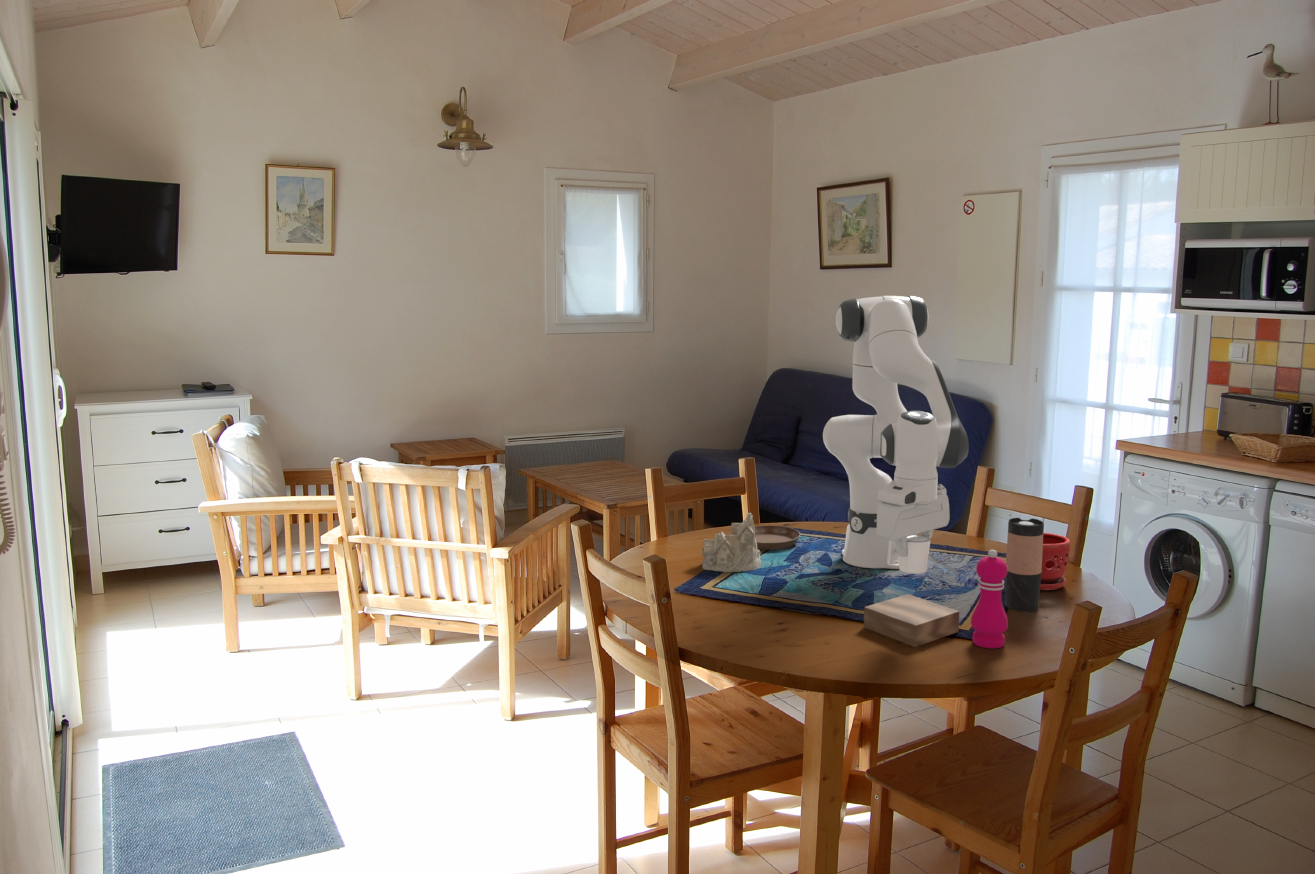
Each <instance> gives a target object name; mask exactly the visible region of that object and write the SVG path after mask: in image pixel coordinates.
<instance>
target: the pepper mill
mask: <svg viewBox="0 0 1315 874" xmlns="http://www.w3.org/2000/svg"><path fill="white" fill-rule="evenodd" d="M987 555H988V556H984V557H982V558H980V559H979V560H978V561H977V564H976V574H977V575H978V576H979V578H978V579H977V580H978V584H977V586H978V587H979V588H980V593H979V599H978V601H977V605H976V607H975V608H974V610H973V612H972V615H971V618H970V624H971V627H972V628H973V630H974V632H973V633H972V643H973V644H974V645H976V646H978V647H981V648H984V649H1000V648H1002V647H1003V648H1004V646H1005V639H1006V637H1005V635H1004V633H1005V632H1006V631H1007V630H1008V627H1009V622H1008V616H1007V613H1006V611H1005V609H1004V606H1003V602H1002V601H1003V600H1002V590H1004V588H1005V577H1006V575H1007V565H1006V561H1004V560H1003V559H1002V558H1000V557H998V552H997V550H996V549H989V550H988V551H987Z"/></svg>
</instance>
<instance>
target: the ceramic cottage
mask: <svg viewBox="0 0 1315 874" xmlns="http://www.w3.org/2000/svg"><path fill="white" fill-rule="evenodd" d="M730 525H731V526H730V534H725V533H724V532H723V531H722V530H721V531H720V532H718V533H714V539H707V538H705V539H703V548H702V550H701V552H702V553H701V554H702V557H703V558H704V560H703V561H702V562H701V566H702V569H703V570H705V571H706V570H707V571H714V572H723V573H738V572H740V573H741V571H743V572H748V571H750V572H751V570H752V571H755V570H758V569H759V568H761V567H762V560H761V558H762V556H761V549H757V542H756V539H755V526H756V525H755V523H754V516H753V514H752V512H747V514H746V518H744V520H743V521H742V522H731V524H730Z"/></svg>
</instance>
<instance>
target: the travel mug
mask: <svg viewBox="0 0 1315 874" xmlns="http://www.w3.org/2000/svg"><path fill="white" fill-rule="evenodd" d="M1044 525H1045V524H1044V521H1042V520H1039V519H1038V518H1029V519H1027V520H1025V519H1021V518H1020V517H1012V518H1009V520H1008V522H1007V540H1006V541H1007V542H1006V555H1005V557H1006V558H1005V563H1006V565H1007V575H1006V577H1005V578H1004V588H1005V589H1004V592H1005V595H1004V596H1005V597H1004V604H1005V607H1006V608H1007V609H1010V610H1012V611H1017V612H1026V613H1027V612H1034V611H1037V610H1038V608H1039V603H1040V592H1041V590H1040V583H1041V572H1042V550H1043V533H1044V529H1045V528H1044V527H1045V526H1044Z"/></svg>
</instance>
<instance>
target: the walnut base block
mask: <svg viewBox="0 0 1315 874" xmlns="http://www.w3.org/2000/svg"><path fill="white" fill-rule="evenodd" d="M863 611H864V612H863V615H864V616H863V628H864V629H867V630H869V631H871V632H872V631H873V632H875V633H877V634H879V635H882V636H886V637H888V638H889V639H893V640H896V641H899V642H900V643H903V644H906V645H909V646H911V647H913V648H916V647H920V646H922V645H926V644H928V643H931V642H934V641H937V640H939V639H942V638H945V637H947V636H952V635H954V634H956V633H959V628H960V610H957V609H953V608H951V607H947V606H945V605H941V604H939V603H935V602H932V601H929V600H928V599H924V598H921V597H918V596H914V595H912V594H909V593H907V594H903V595H899V596H897V597H893V598H890V599H887V600H883V601H880V602H876V603H874V604H870V605H866V606H864V607H863Z"/></svg>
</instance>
